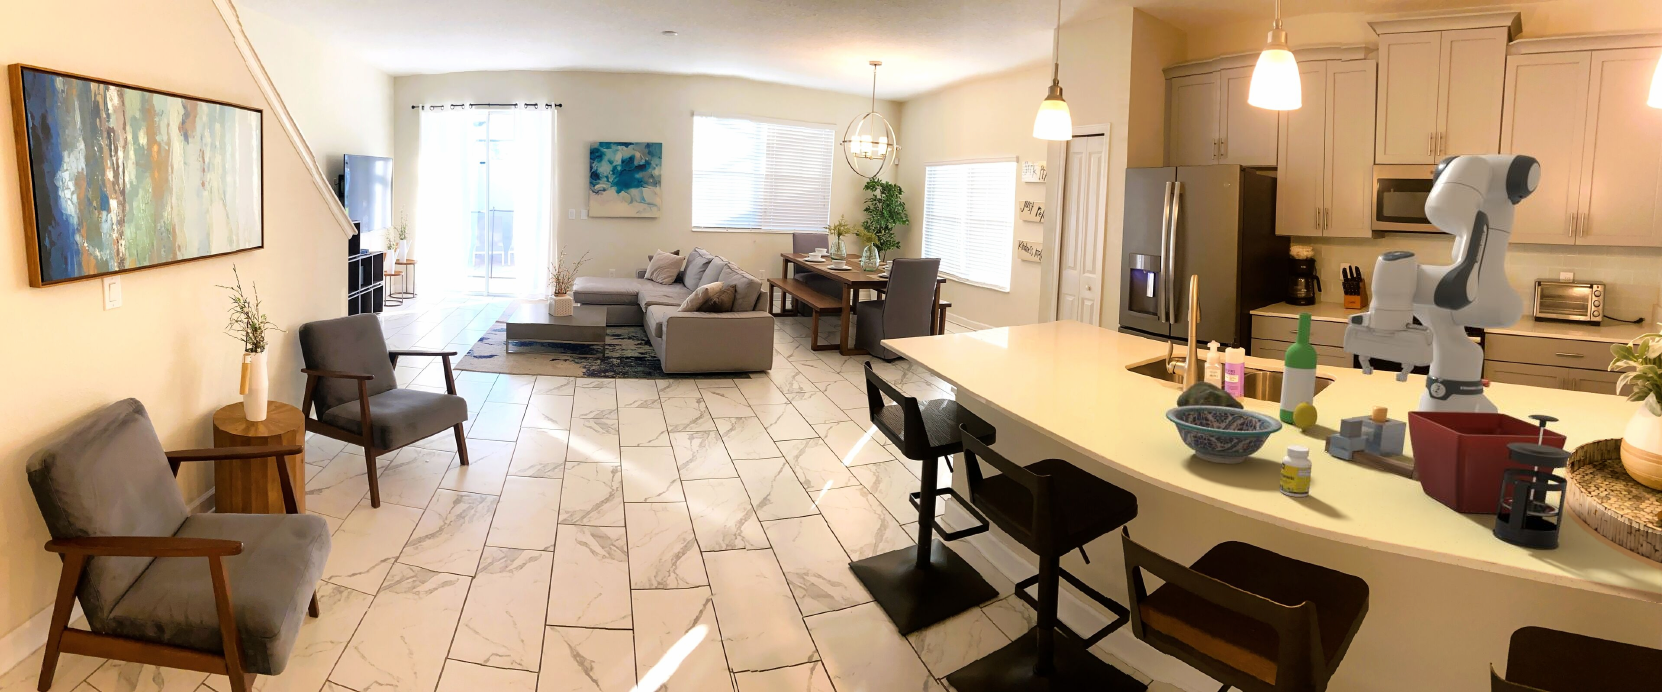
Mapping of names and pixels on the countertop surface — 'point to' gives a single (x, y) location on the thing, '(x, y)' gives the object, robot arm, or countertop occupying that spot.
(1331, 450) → the carriage
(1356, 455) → the rail
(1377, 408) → the gauge button
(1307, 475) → the supplement bottle
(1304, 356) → the wine bottle
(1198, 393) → the decorative rock
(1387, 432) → the grey cube with hole
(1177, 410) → the bowl
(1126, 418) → the countertop surface
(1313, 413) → the lemon
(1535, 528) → the french press
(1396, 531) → the countertop surface
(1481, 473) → the plant pot
